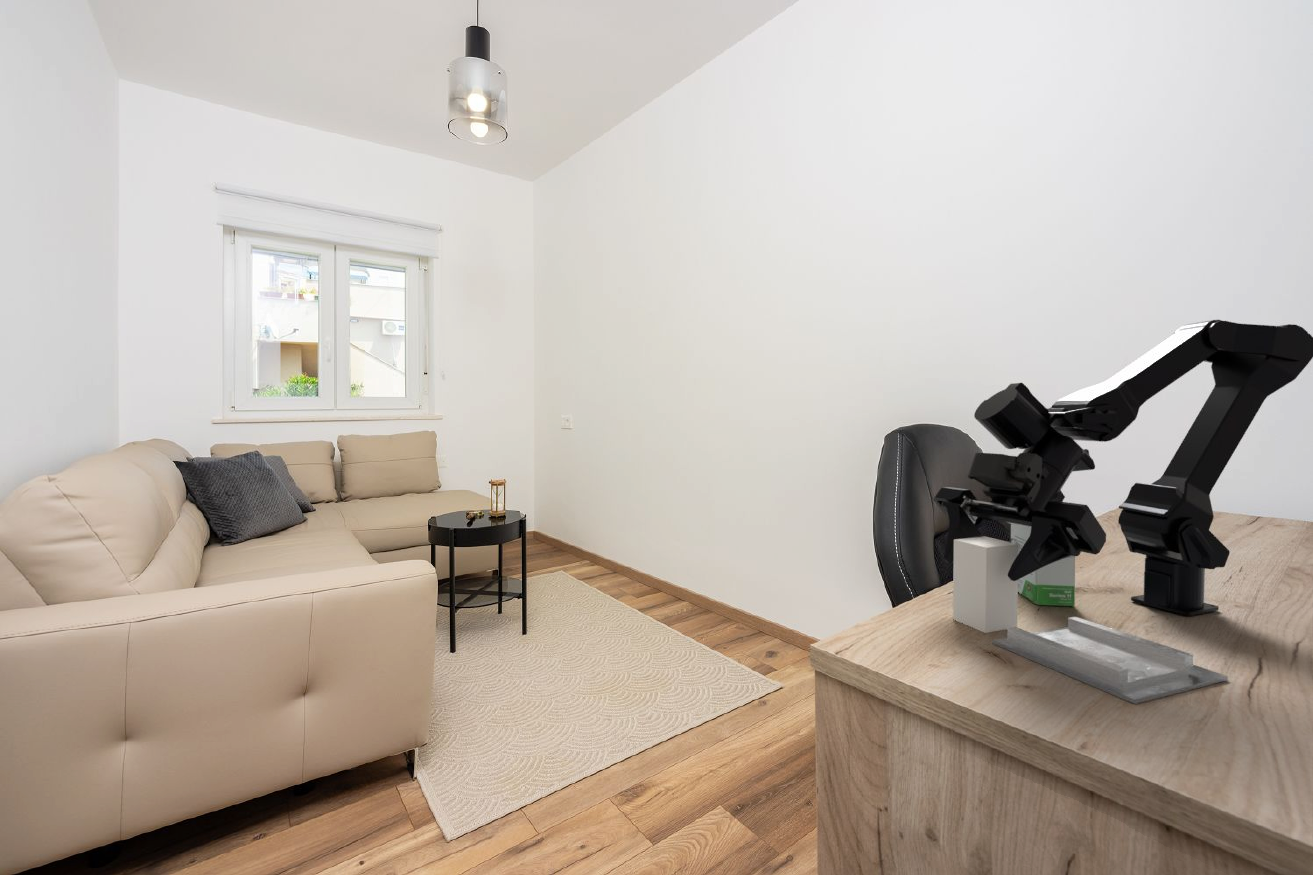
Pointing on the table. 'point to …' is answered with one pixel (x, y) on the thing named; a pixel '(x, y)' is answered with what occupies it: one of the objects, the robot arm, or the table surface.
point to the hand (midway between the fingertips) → (976, 569)
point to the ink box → (1046, 576)
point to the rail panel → (1111, 660)
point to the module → (984, 584)
